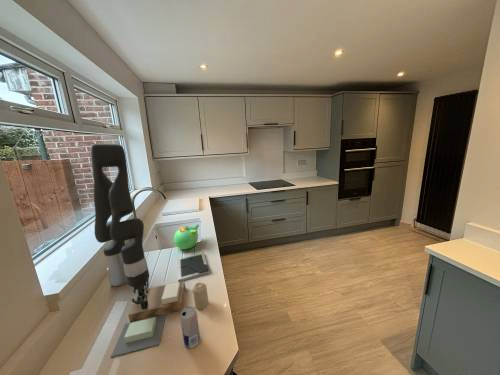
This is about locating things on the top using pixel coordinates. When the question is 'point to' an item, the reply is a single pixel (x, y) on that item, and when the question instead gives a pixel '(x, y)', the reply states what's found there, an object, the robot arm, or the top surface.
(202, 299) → the candle
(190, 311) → the energy drink
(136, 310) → the thick wooden panel
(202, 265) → the picture frame
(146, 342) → the mat
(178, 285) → the cream block
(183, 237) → the toy bird
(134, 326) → the sage green block
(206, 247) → the top surface
